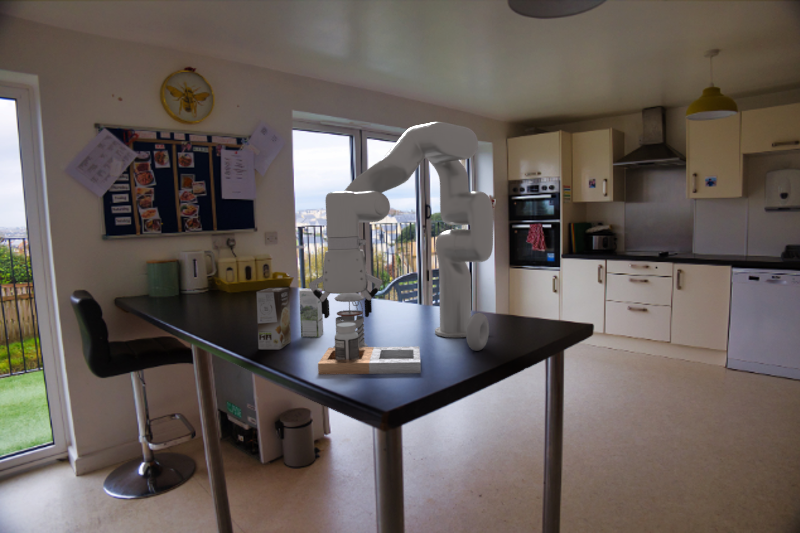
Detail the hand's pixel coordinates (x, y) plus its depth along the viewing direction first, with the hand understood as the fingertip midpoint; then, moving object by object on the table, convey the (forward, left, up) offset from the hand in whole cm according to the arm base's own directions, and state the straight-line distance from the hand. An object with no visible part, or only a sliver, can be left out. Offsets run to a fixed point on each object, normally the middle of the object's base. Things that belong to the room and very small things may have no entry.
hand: (347, 316), depth 112 cm
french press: (+1, -18, -12) cm, 21 cm away
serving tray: (-6, 0, -12) cm, 13 cm away
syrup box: (+15, -32, -12) cm, 37 cm away
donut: (-33, -12, -12) cm, 37 cm away
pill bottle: (0, 0, -12) cm, 12 cm away
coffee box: (+23, -20, -12) cm, 33 cm away
